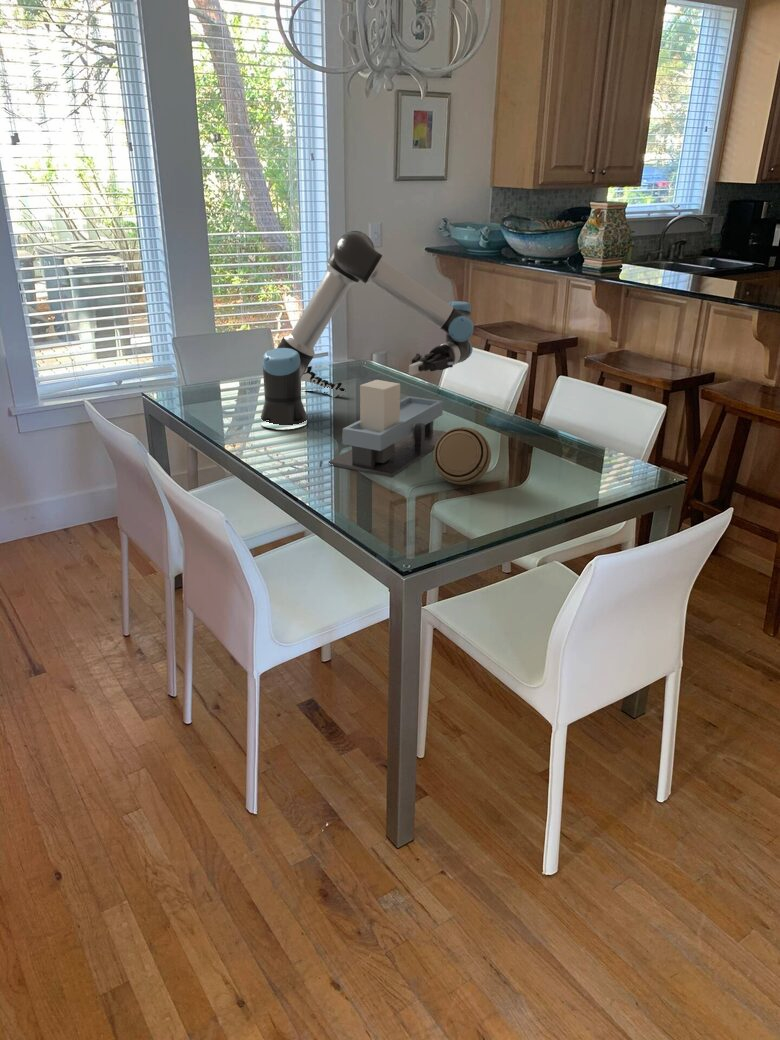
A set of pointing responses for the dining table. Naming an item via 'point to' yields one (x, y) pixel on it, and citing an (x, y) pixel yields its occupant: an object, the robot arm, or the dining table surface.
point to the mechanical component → (462, 455)
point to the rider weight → (379, 405)
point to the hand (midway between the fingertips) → (411, 370)
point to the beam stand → (404, 456)
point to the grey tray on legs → (393, 427)
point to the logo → (319, 380)
